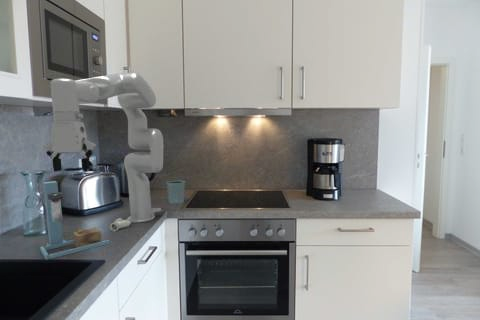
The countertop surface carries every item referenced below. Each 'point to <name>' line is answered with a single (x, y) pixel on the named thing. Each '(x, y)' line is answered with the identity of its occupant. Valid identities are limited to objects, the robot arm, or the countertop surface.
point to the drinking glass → (176, 191)
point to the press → (58, 229)
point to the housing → (86, 237)
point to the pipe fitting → (119, 224)
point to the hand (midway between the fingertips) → (71, 170)
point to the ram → (56, 206)
